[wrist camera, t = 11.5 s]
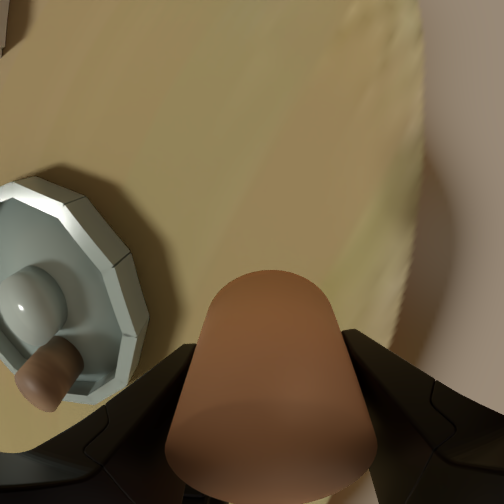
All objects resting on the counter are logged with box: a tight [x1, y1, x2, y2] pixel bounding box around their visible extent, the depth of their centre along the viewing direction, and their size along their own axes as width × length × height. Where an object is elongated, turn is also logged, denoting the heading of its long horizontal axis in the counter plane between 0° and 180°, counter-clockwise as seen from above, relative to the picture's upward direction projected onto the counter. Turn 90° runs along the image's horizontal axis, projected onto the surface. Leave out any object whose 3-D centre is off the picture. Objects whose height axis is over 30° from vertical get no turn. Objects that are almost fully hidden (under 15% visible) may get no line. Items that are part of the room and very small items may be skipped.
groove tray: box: [0, 176, 150, 405], centre depth 20 cm, size 18×18×3 cm
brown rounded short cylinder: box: [15, 336, 84, 412], centre depth 20 cm, size 4×4×5 cm
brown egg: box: [165, 270, 378, 504], centre depth 7 cm, size 4×4×5 cm
